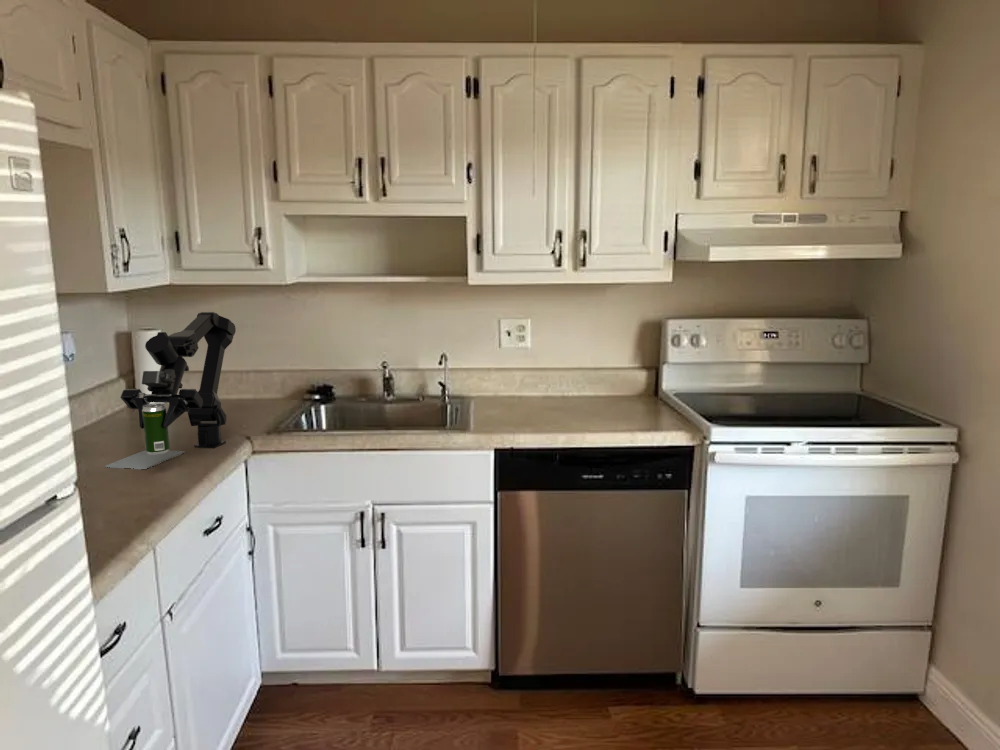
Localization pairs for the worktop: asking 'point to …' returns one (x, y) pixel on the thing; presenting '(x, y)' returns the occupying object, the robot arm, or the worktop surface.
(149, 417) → the beer can
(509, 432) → the worktop surface
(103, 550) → the worktop surface
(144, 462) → the grey mat
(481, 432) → the worktop surface
